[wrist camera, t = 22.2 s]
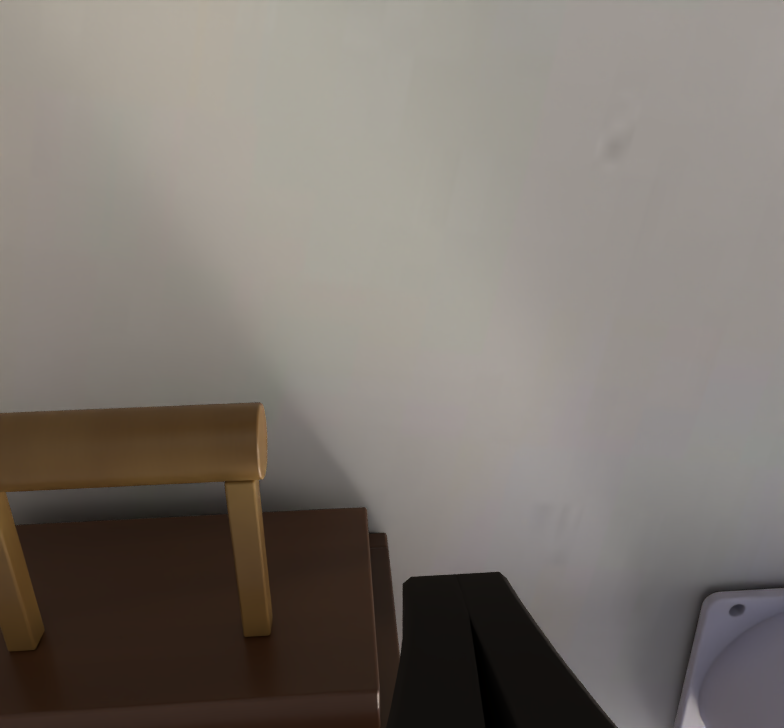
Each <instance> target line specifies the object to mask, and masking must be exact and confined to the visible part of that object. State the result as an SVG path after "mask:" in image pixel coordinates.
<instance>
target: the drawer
mask: <svg viewBox="0 0 784 728" xmlns="http://www.w3.org/2000/svg"><path fill="white" fill-rule="evenodd" d="M266 468H267V426H266V417H265V411H264V407H263V405H262V403H260V402H255V403H231V404H207V405H182V406H158V407H133V408H109V409H85V410H60V411H36V412H11V413H0V728H380V726H381V720H380V685H379V671H378V657H377V643H376V629H375V615H374V601H373V587H372V573H371V560H370V546H369V532H368V518H367V509H366V508H365V507H357V508H337V509H318V510H298V511H279V512H262V508H261V498H260V488H259V480H262V479H264V477H265V474H266ZM224 481H225V484H224V486H225V493H226V501H227V509H228V514H220V515H200V516H181V517H161V518H142V519H122V520H102V521H83V522H63V523H44V524H24V525H15V523H14V520H13V516H12V512H11V509H10V505H9V502H8V498H7V495H6V492H16V491H37V490H58V489H79V488H100V487H120V486H141V485H162V484H183V483H204V482H224Z"/></svg>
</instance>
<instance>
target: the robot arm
mask: <svg viewBox="0 0 784 728" xmlns="http://www.w3.org/2000/svg"><path fill="white" fill-rule="evenodd" d="M734 605H735V606H734ZM733 606H734V607H733ZM386 728H618V727H617V726H616V725H615V724H614V723H613V721H612V720H611V719H610V718H609V717H608V716H607V714H606V713H605V712H604V711H603V710H602V708H601V707H600V706H599V705H598V703H597V702H596V701H595V700H594V698H593V697H592V696H591V695H590V693H589V692H588V691H587V690H586V688H585V687H584V686H583V685H582V683H581V682H580V681H579V680H578V678H577V677H576V676H575V674H574V673H573V672H572V671H571V669H570V668H569V667H568V666H567V664H566V663H565V662H564V660H563V659H562V658H561V656H560V655H559V654H558V652H557V651H556V650H555V648H554V647H553V646H552V644H551V643H550V641H549V640H548V639H547V637H546V636H545V635H544V633H543V632H542V630H541V629H540V628H539V626H538V625H537V623H536V622H535V621H534V619H533V618H532V616H531V615H530V613H529V612H528V610H527V609H526V608H525V606H524V605H523V603H522V602H521V600H520V599H519V597H518V596H517V594H516V592H515V591H514V589H513V588H512V586H511V585H510V583H509V581H508V580H507V578H506V577H504V576H503V575H502V574H501V573H500V572H487V573H470V574H453V575H435V576H418V577H410V578H409V579H408V580H407V581H406V582H404V583H403V639H402V647H401V655H400V662H399V667H398V672H397V678H396V683H395V688H394V693H393V698H392V703H391V709H390V713H389V717H388V722H387V726H386ZM674 728H784V588H774V589H757V590H741V591H724V592H716V593H713V594H711V595H709V596H708V597H707V598H706V599H705V600H704V602H703V604H702V607H701V612H700V616H699V620H698V625H697V629H696V633H695V638H694V642H693V646H692V651H691V655H690V659H689V663H688V668H687V672H686V676H685V681H684V685H683V689H682V694H681V698H680V702H679V707H678V711H677V715H676V719H675V724H674Z"/></svg>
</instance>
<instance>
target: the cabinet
mask: <svg viewBox="0 0 784 728" xmlns="http://www.w3.org/2000/svg"><path fill="white" fill-rule="evenodd" d="M369 546H370V560H371V573H372V587H373V601H374V615H375V629H376V643H377V657H378V671H379V685H380V720H381V726H380V728H386V726H387V722H388V717H389V713H390V709H391V703H392V698H393V693H394V688H395V683H396V678H397V672H398V667H399V662H400V652H399V643H398V633H397V624H396V615H395V606H394V596H393V587H392V578H391V569H390V559H389V550H388V542H387V535H386V533H369Z"/></svg>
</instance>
